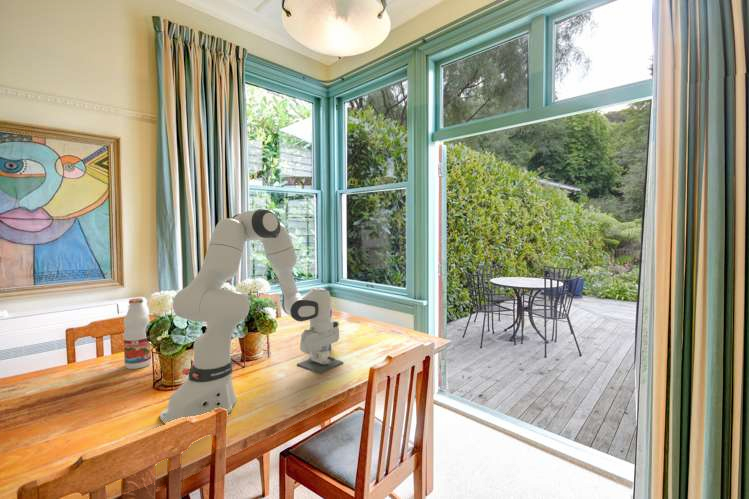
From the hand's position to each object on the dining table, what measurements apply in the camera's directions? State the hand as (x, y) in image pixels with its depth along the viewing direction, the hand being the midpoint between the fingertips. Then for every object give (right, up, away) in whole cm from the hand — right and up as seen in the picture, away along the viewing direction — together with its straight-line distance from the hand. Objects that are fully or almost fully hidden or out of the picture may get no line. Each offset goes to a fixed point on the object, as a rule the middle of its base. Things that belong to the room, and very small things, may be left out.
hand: (320, 356), depth 155 cm
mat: (0, -3, 0) cm, 3 cm away
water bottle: (-2, -2, +19) cm, 19 cm away
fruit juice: (-76, -3, -3) cm, 76 cm away
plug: (0, -2, 0) cm, 2 cm away
